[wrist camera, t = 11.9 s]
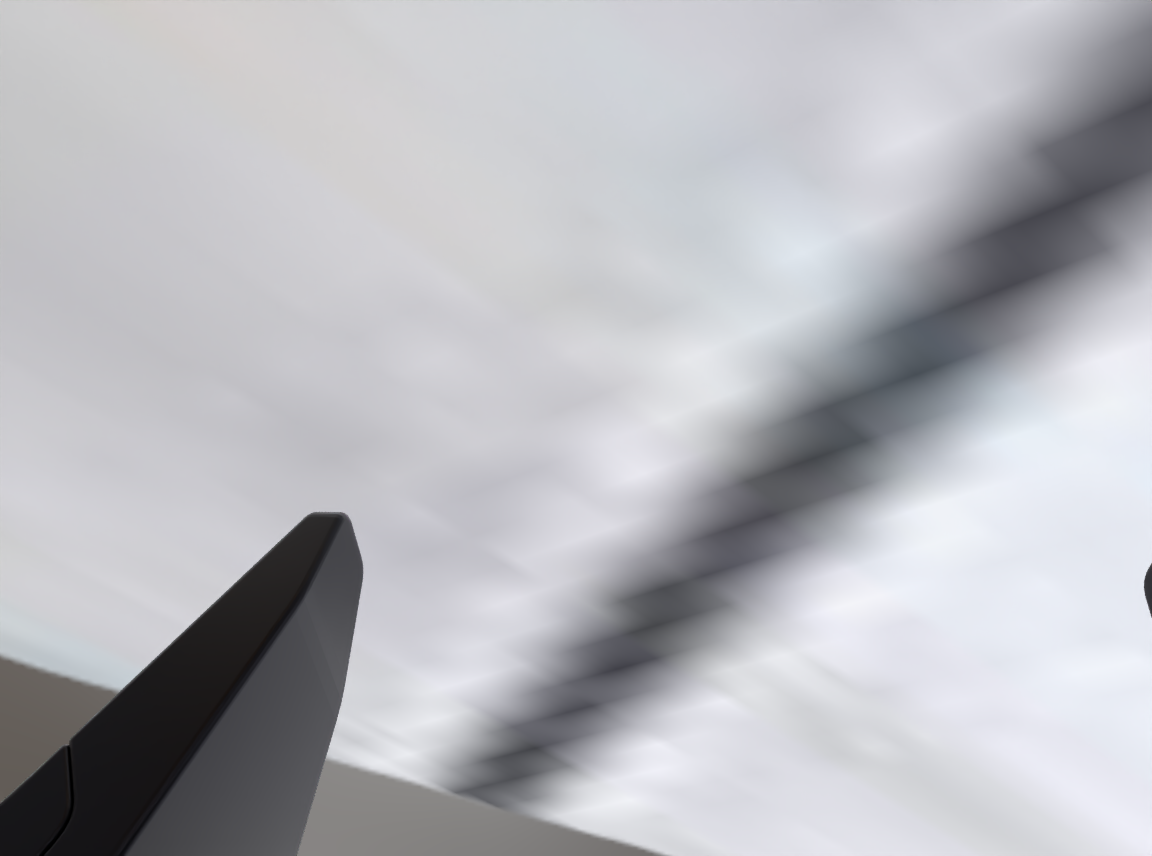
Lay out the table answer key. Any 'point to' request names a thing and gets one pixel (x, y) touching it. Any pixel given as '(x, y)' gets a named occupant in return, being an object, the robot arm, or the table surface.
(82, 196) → the table surface
